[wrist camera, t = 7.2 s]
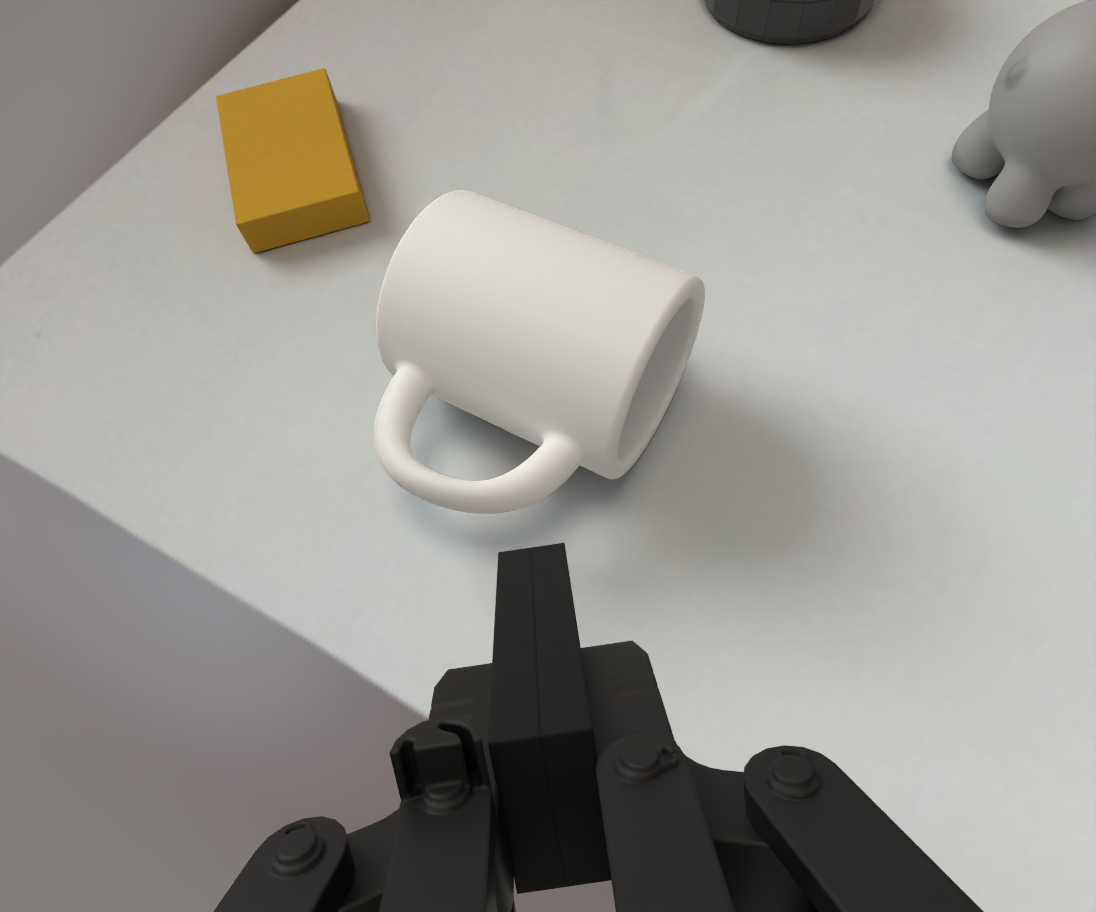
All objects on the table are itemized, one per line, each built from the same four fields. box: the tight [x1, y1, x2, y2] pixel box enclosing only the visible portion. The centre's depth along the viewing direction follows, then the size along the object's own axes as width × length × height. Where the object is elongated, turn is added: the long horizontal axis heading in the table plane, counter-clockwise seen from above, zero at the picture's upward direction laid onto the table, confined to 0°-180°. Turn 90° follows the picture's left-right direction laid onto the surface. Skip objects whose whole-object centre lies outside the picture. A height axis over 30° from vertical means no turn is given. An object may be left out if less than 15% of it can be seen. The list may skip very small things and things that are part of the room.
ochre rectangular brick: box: [216, 68, 370, 253], centre depth 39 cm, size 6×10×2 cm, turn 18°
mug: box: [374, 190, 705, 514], centre depth 28 cm, size 12×10×8 cm
